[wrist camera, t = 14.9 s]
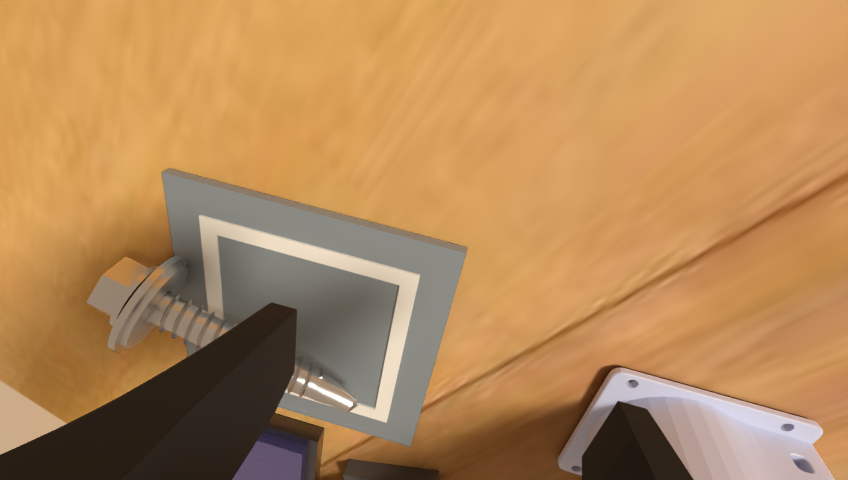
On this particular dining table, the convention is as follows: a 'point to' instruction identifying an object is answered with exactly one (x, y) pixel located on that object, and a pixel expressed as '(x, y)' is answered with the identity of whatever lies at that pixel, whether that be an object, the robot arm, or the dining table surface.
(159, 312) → the screw
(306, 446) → the ink pad
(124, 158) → the dining table surface
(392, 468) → the stamp
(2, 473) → the robot arm
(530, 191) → the dining table surface
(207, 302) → the marked board
